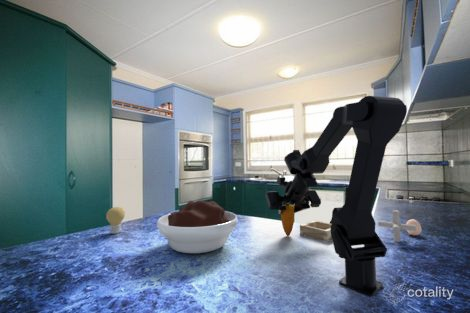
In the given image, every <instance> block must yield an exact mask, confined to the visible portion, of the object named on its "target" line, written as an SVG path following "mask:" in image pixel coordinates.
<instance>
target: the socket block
mask: <svg viewBox="0 0 470 313" xmlns="http://www.w3.org/2000/svg"><path fill="white" fill-rule="evenodd" d="M330 231H331V224H330V222H324V221H320V220H312V221H309V222H306V223H302V224H300V225H299V235H300V236H303V237H307V238H311V239H315V240H318V241H321V242H325V243H329V242H330V241H333V240H332V236H331V232H330Z"/></svg>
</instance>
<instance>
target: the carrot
mask: <svg viewBox="0 0 470 313" xmlns="http://www.w3.org/2000/svg"><path fill="white" fill-rule="evenodd" d="M285 207H286V210H285V211H284V212H283V213H282V214H280V220H281V224H282V228H283V232H284V234H285V235H286V236H287V237H289V236H290V235H291V233H292V231H293V228H294V224H295V223H294V222H295V213H294V204H290V203H288V204H286V205H285Z"/></svg>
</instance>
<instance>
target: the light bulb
mask: <svg viewBox="0 0 470 313" xmlns="http://www.w3.org/2000/svg"><path fill="white" fill-rule="evenodd" d="M125 212H126V211H125V210H124V209H123V208H122V207H119V206H115V207H112V208H110V209H108V210H107V212H106V214H105V215H106V216H105V218H106V220H107V222H108V223H109V224H110V225H109V233H110V234H113V235H114V234H115V235H116V234H119V233H121V229H122V224H121V223H122V221H123V220H124V218H125V216H126V215H125V214H126V213H125Z"/></svg>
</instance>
